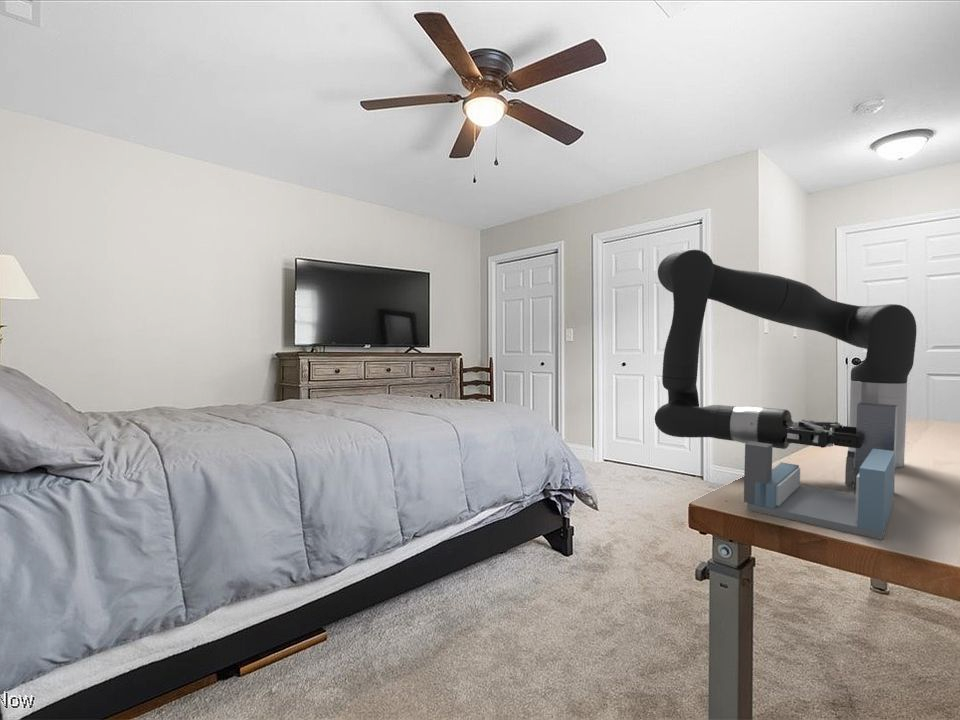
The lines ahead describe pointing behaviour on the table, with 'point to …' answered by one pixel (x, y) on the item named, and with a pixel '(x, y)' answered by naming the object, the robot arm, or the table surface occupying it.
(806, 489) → the vise base
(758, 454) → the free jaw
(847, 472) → the caliper
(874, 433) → the steel block
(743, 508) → the table surface
